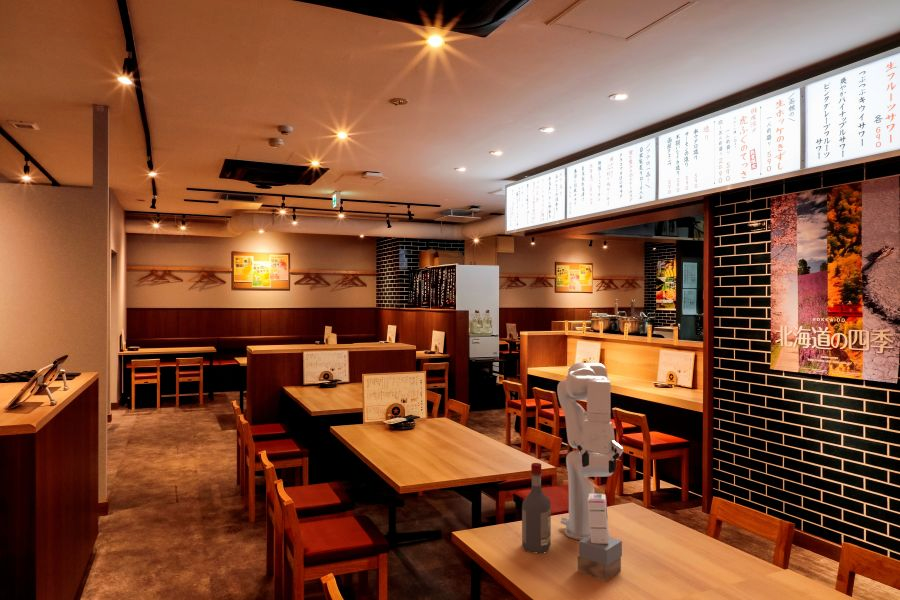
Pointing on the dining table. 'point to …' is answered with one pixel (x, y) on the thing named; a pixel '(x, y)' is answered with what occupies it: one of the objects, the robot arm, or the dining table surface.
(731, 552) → the dining table surface
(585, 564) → the walnut block
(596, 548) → the grey square block
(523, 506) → the liquor
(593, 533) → the syrup box
